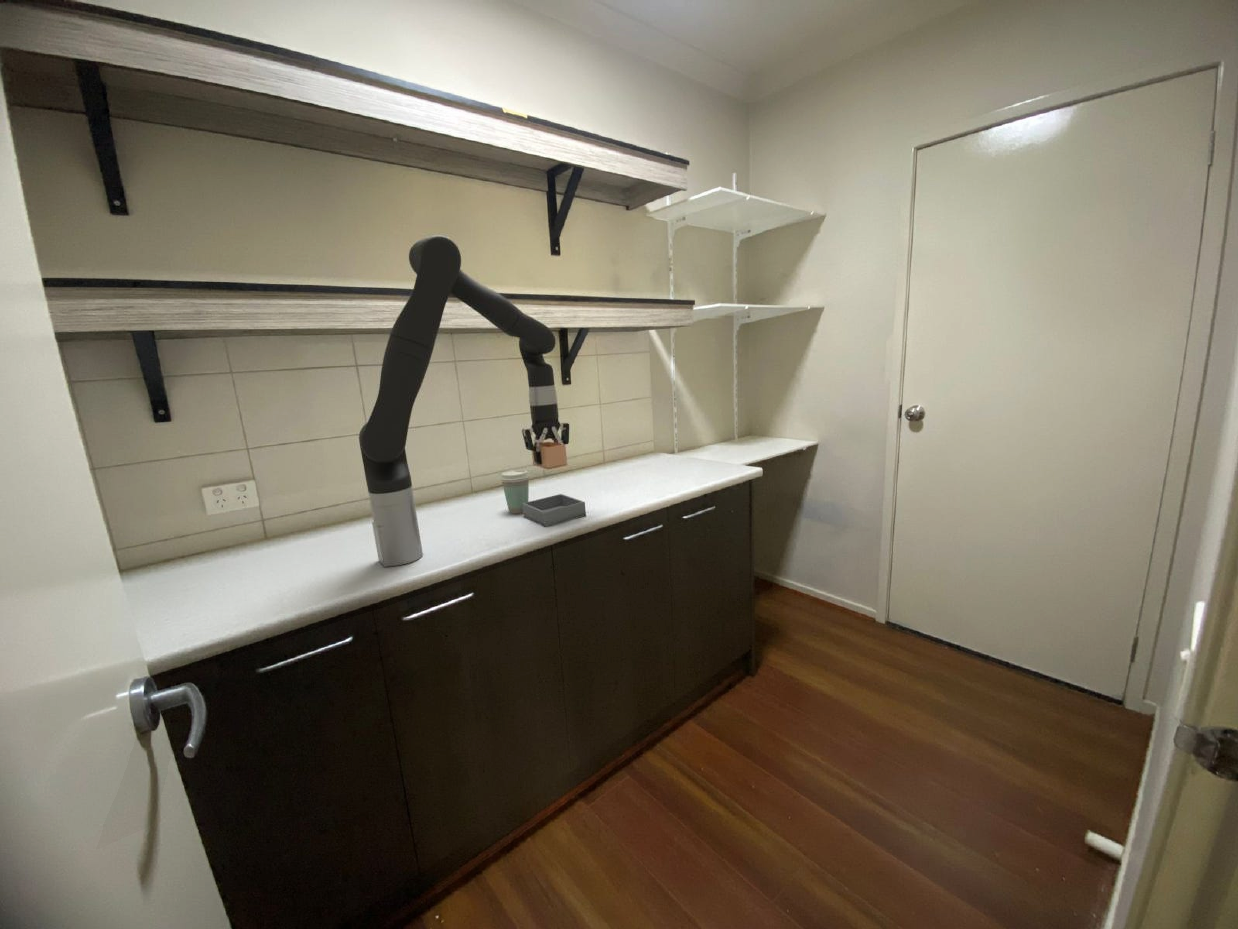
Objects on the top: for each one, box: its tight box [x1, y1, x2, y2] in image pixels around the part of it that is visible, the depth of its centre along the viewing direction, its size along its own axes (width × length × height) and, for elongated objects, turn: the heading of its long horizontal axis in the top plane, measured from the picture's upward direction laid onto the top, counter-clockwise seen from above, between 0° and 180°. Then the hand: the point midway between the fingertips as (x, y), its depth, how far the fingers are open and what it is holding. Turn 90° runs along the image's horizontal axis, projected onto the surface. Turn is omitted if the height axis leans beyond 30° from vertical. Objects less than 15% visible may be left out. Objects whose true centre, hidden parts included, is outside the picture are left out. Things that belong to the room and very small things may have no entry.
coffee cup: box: [500, 469, 530, 515], centre depth 147 cm, size 9×8×12 cm
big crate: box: [522, 493, 587, 528], centre depth 141 cm, size 13×13×4 cm
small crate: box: [531, 440, 568, 470], centre depth 137 cm, size 6×9×6 cm, turn 37°
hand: (549, 462), depth 138 cm, fingers closed on small crate, 6 cm apart
